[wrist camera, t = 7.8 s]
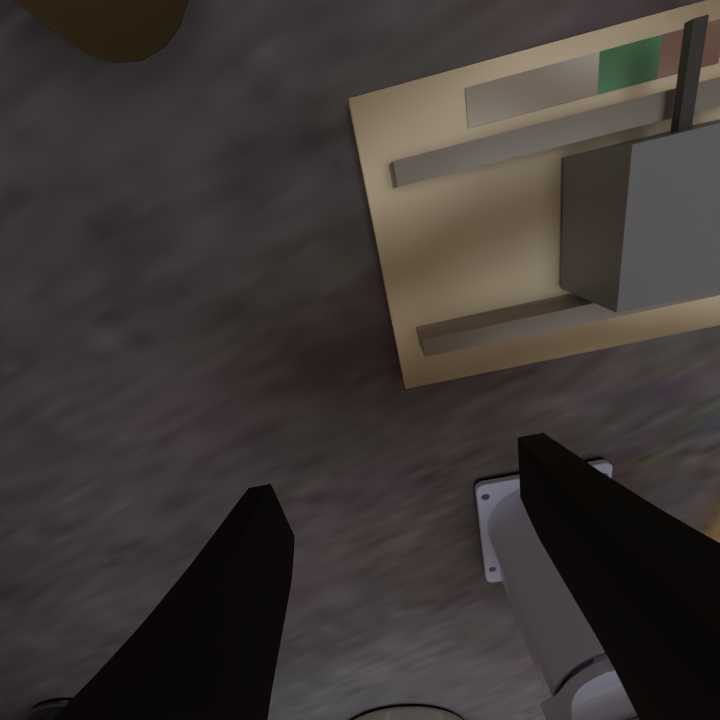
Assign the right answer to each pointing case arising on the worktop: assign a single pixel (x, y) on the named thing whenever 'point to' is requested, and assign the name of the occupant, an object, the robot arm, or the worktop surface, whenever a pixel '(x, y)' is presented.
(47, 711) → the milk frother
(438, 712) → the utensil holder
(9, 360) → the worktop surface
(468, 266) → the gauge board
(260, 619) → the robot arm
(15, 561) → the worktop surface
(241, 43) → the worktop surface
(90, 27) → the cork
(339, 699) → the worktop surface
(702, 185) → the gauge carriage
